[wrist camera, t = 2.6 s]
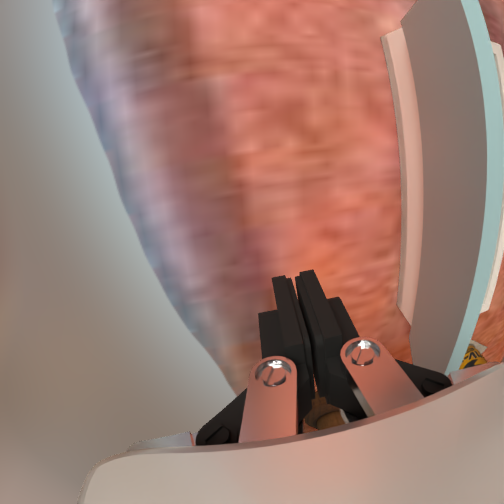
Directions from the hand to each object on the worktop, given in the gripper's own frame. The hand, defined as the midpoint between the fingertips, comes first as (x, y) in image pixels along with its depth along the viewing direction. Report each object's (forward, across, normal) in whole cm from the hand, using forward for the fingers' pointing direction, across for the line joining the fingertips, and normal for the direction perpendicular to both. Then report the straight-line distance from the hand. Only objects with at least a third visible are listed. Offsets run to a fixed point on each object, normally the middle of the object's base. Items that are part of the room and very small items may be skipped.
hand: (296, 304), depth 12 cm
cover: (+2, -9, -1) cm, 9 cm away
